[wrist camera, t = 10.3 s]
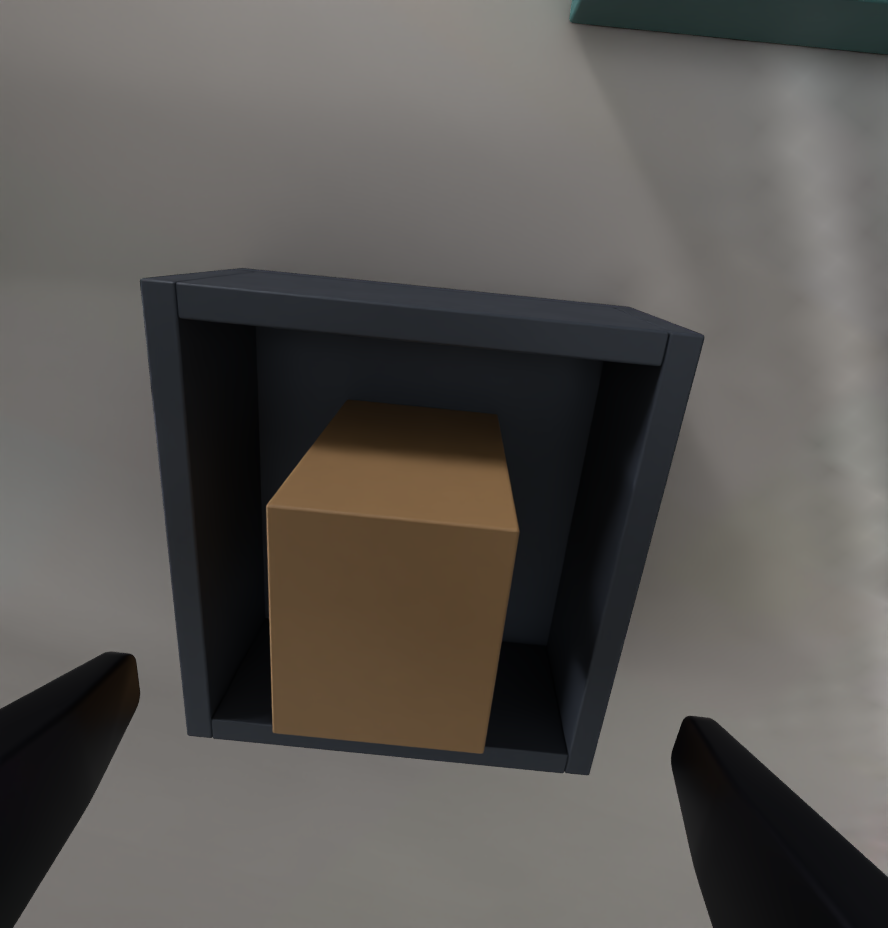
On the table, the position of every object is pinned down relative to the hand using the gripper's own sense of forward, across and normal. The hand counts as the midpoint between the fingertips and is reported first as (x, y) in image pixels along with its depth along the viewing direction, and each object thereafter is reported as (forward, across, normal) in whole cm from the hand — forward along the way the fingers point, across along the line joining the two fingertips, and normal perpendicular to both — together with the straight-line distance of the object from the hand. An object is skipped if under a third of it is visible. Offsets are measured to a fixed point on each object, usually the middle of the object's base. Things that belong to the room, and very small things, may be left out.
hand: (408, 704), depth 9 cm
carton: (+11, +1, +1) cm, 11 cm away
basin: (+12, +1, +1) cm, 12 cm away
